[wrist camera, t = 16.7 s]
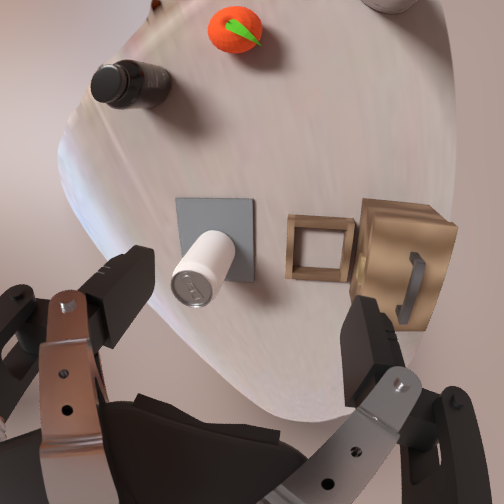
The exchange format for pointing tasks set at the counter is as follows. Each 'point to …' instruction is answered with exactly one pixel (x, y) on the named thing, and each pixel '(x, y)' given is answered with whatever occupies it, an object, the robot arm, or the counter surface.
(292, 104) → the counter surface
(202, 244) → the can
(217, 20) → the clementine
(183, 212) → the mat
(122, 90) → the supplement bottle
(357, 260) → the toolbox
